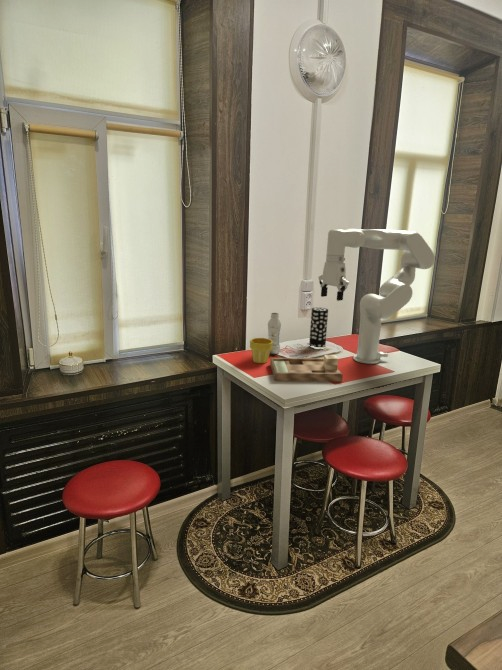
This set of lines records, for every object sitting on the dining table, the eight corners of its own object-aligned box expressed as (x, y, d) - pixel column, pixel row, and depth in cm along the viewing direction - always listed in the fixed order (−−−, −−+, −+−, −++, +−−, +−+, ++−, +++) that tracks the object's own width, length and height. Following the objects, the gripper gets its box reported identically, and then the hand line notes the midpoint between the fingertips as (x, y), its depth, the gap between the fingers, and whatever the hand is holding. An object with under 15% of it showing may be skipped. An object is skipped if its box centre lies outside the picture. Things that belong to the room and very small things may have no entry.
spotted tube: (307, 344, 229) (309, 307, 223) (322, 344, 230) (325, 307, 224) (311, 349, 221) (313, 311, 215) (327, 349, 222) (330, 311, 216)
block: (334, 365, 192) (335, 354, 190) (337, 369, 187) (338, 358, 186) (323, 365, 191) (324, 354, 190) (325, 369, 187) (326, 358, 185)
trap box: (331, 365, 199) (332, 358, 198) (342, 381, 181) (342, 373, 180) (270, 365, 197) (270, 357, 196) (274, 380, 179) (275, 373, 178)
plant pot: (272, 358, 207) (273, 338, 204) (270, 365, 197) (271, 344, 194) (250, 356, 208) (251, 336, 205) (248, 363, 198) (248, 343, 195)
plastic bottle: (270, 356, 209) (271, 315, 204) (264, 352, 215) (265, 312, 210) (282, 354, 212) (284, 314, 206) (275, 350, 218) (277, 311, 212)
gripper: (356, 261, 183) (352, 301, 188) (327, 256, 197) (324, 294, 201) (343, 261, 179) (339, 302, 184) (314, 257, 192) (311, 295, 197)
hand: (331, 298), depth 193 cm, fingers open, 9 cm apart
